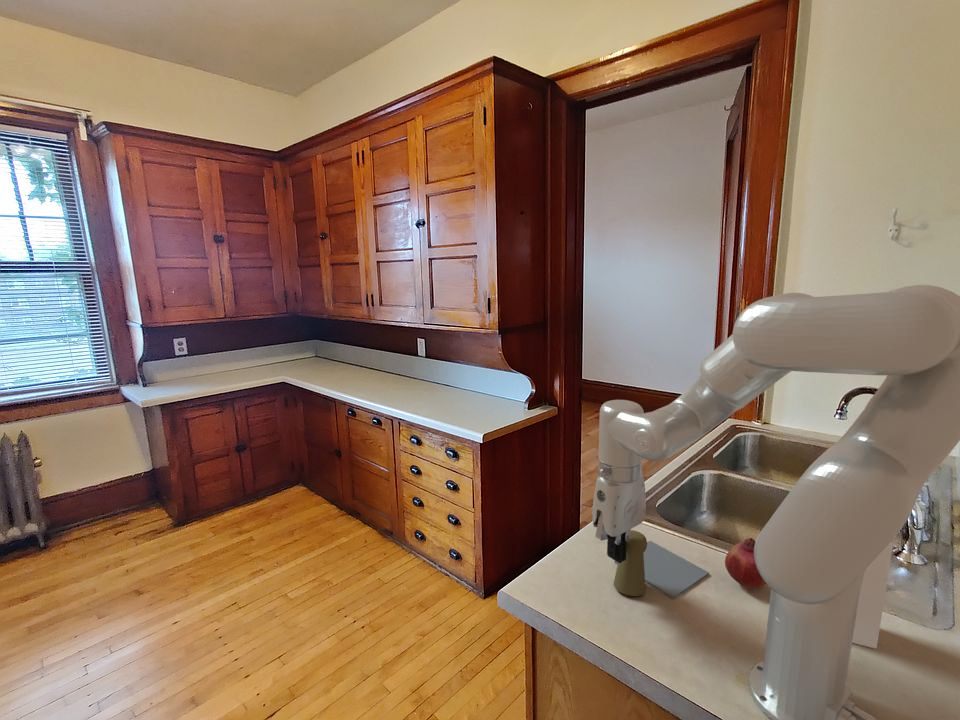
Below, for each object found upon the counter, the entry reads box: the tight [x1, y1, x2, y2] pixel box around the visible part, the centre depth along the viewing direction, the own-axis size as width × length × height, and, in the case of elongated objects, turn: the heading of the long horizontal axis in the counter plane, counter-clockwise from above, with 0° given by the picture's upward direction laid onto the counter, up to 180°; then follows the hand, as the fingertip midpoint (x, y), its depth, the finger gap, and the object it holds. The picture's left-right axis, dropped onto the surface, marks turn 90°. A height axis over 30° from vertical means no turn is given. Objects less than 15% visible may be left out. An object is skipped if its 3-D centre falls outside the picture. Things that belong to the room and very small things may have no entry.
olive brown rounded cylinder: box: [613, 529, 648, 597], centre depth 91 cm, size 6×6×11 cm
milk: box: [852, 541, 894, 650], centre depth 78 cm, size 6×6×22 cm
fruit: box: [724, 537, 767, 590], centre depth 91 cm, size 8×8×10 cm
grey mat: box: [614, 540, 710, 600], centre depth 97 cm, size 14×12×1 cm
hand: (616, 557), depth 89 cm, fingers closed
